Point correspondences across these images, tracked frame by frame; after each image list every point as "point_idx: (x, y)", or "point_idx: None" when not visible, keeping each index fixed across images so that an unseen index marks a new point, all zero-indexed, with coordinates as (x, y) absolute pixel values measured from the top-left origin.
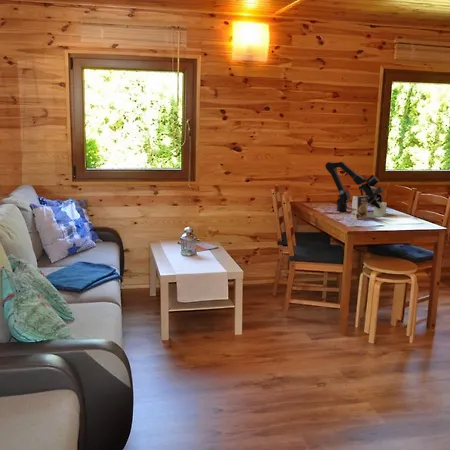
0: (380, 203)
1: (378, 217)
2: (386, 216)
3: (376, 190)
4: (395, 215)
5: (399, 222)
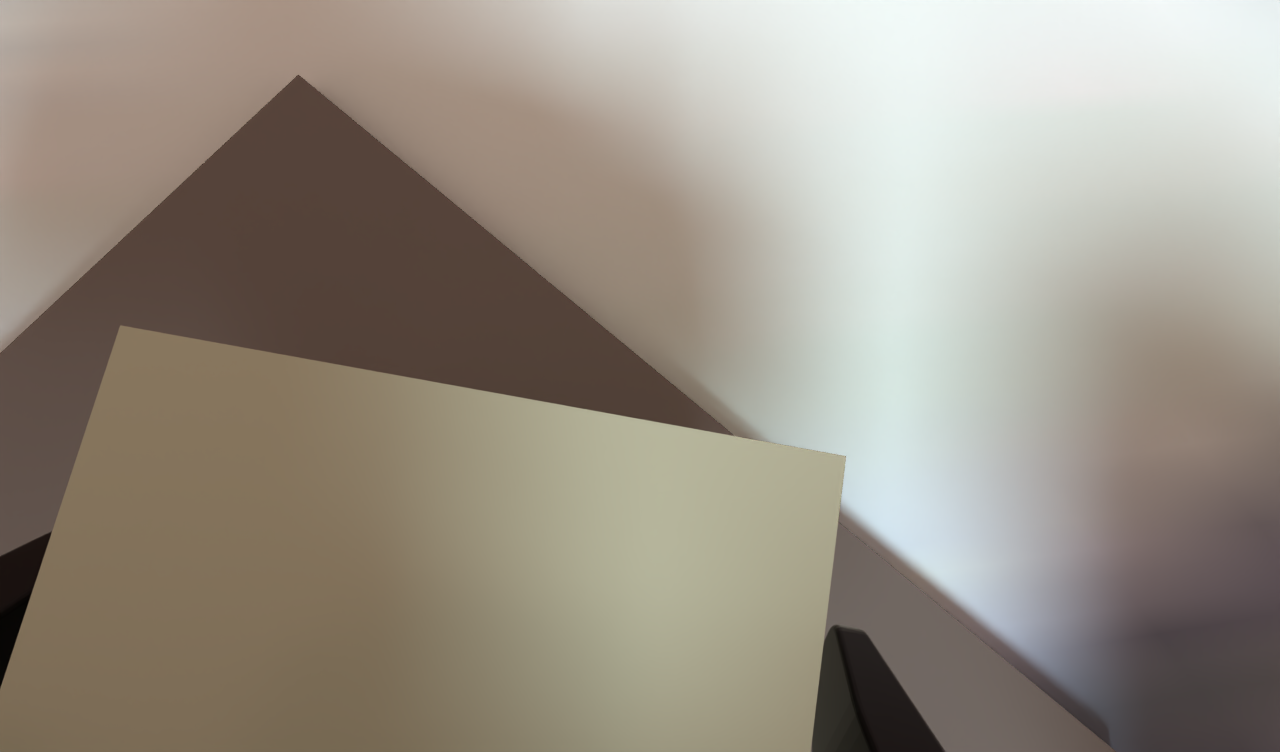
0: (805, 726)
1: (933, 601)
2: (586, 391)
3: None
4: (244, 164)
5: (1161, 8)
